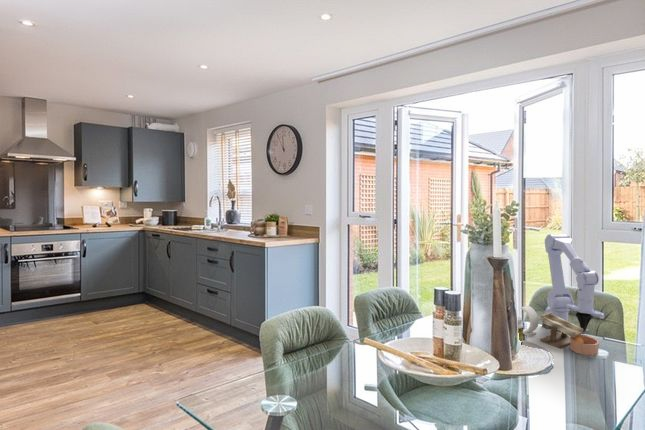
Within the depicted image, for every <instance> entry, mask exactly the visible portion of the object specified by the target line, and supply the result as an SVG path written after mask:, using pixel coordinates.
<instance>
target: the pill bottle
mask: <svg viewBox="0 0 645 430" xmlns="http://www.w3.org/2000/svg"><path fill="white" fill-rule="evenodd" d="M517 317H518V333H519V340H520V341H522V340H524V339H523V338H524V334H523V330H524V325H523V322H522V321H523V319H522V318H521V317H520V316H517ZM522 342H523V341H522Z"/></svg>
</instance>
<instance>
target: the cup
mask: <svg viewBox="0 0 645 430" xmlns="http://www.w3.org/2000/svg"><path fill="white" fill-rule="evenodd" d="M569 337H570V345H569V350H571V351H573V352H574V353H577V354H579V355H584V356H596V355H598V354H599V345H600V343H599V340H598V339H596V338H594V337H592V336H588V335H586V334H581V335H579V336H577V337H580V338H581V339H582V340H583V341H584V344H583V343H580V342H577V341H575V340H573V339H574V338H575V337H574V338H573V337H571V336H569Z"/></svg>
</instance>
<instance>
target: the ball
mask: <svg viewBox="0 0 645 430" xmlns="http://www.w3.org/2000/svg"><path fill="white" fill-rule="evenodd" d="M573 340H575V341H577V342H580V343H583V344H584V341H583V340H582V339H581V338H580V337H575V338H574V339H573Z"/></svg>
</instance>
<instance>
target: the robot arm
mask: <svg viewBox="0 0 645 430" xmlns="http://www.w3.org/2000/svg"><path fill="white" fill-rule="evenodd" d="M544 247H545V252H546V253H547V257H548V263H549V271H550V278H551V286H552V287H551V288H552V289H550V291H548V293H547V300H546V302H547V303H546V304H547V307H546V308H545V310H544V314H546V313H548V312H551V313H552V314H553V315H555V316H557V317H559V318H562V319H564V320H566V321H568V322H569V312H570V311H575V312H576V313H575V316H576V318H577V320H578V324H579V327H581V328H583V331H585V330H586V328H587V327H588V326H589V323H590V321H591V320H592V318H593V317H595V318H599V319H602V320H603V319H604V318H605V313H603V312H601V311H598V310H595V309H594V299H595V286H596V285H598V283H599V280H600V279H599V276H598V272H597V271H595V270H593V269H590V267H589V266H588V264H587V263H586V261H585V260H584V258H582V257H579V256H578V254H577V252H576V249H574V247H573V239H572V237H571V236H570V234H568V233H565V234H547V235H546V237H545V238H544ZM562 253H564V254H565V256H566V257H567V258H568V260H569V266H570V268H571V269H572V271H573V272H574V274H575V275H576V276H575V280H576V283H577V289H578V292H577V293H578V294H577V305H575V304H574V303H575V302H574V299H573V296H572V292H571V291H570V290H568V289H567V288H566V285H565V278H564V272H563V271H564V270H563V263H562V256H561V255H562ZM587 329H588V328H587ZM558 331H559V330H557V332H558ZM559 332H560V331H559Z"/></svg>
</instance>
